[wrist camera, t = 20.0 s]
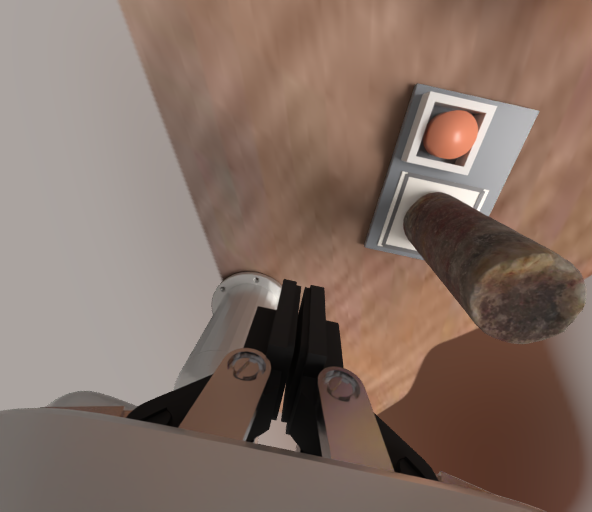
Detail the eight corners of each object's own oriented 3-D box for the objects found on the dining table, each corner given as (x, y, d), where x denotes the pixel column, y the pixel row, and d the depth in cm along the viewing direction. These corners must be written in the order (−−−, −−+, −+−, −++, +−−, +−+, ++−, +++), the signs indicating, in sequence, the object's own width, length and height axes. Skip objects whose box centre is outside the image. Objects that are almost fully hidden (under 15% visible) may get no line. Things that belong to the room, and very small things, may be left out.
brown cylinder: (423, 257, 40) (514, 363, 22) (387, 222, 38) (451, 303, 20) (471, 217, 37) (621, 299, 19) (435, 178, 36) (558, 225, 17)
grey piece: (460, 265, 41) (472, 276, 38) (364, 244, 41) (367, 254, 38) (533, 111, 33) (556, 109, 30) (415, 84, 33) (425, 79, 30)
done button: (456, 161, 34) (466, 163, 32) (416, 152, 34) (423, 153, 32) (474, 116, 32) (486, 115, 30) (432, 107, 32) (440, 105, 30)
